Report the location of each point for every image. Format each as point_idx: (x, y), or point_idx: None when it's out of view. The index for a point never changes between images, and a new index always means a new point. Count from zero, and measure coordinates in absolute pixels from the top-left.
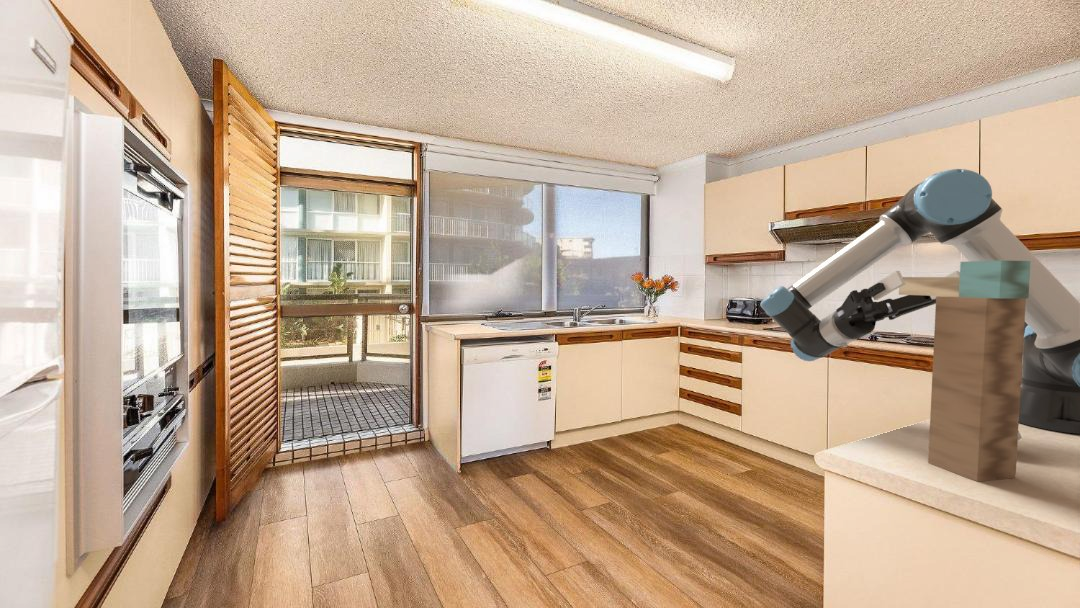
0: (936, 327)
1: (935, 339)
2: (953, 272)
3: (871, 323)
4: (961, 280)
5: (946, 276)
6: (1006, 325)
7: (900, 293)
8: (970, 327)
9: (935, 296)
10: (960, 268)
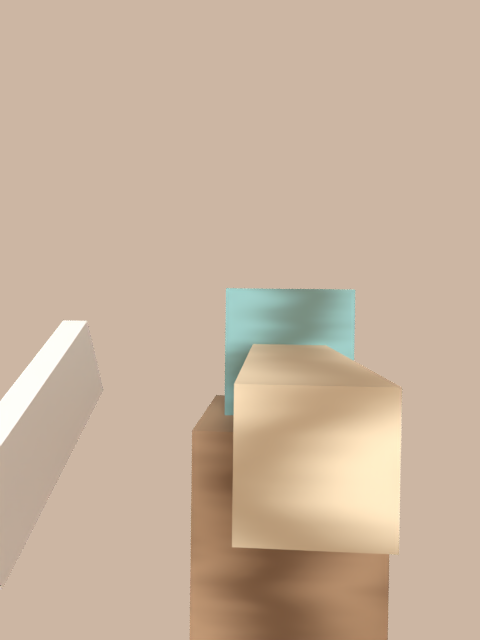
0: (386, 569)
1: (385, 623)
2: (81, 329)
3: None
4: (352, 357)
5: (59, 359)
6: None
7: (392, 536)
8: None
9: (18, 543)
10: (354, 314)
